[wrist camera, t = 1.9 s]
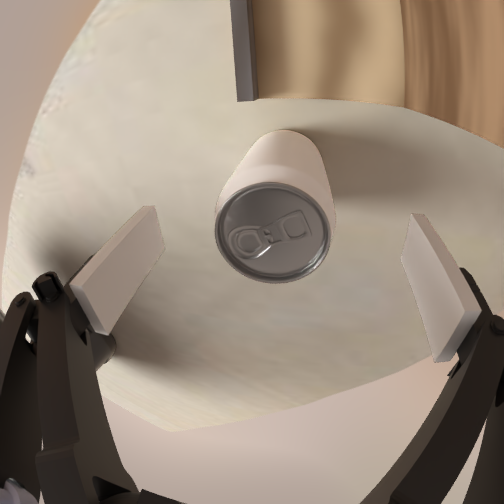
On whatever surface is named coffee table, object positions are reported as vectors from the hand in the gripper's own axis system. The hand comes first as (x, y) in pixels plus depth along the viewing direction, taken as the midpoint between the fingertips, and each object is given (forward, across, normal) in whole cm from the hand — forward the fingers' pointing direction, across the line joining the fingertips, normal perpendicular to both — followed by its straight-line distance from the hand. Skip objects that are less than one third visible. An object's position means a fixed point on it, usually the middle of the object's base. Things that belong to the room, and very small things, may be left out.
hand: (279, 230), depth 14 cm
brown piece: (+12, +4, +17) cm, 21 cm away
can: (+12, 0, 0) cm, 12 cm away
